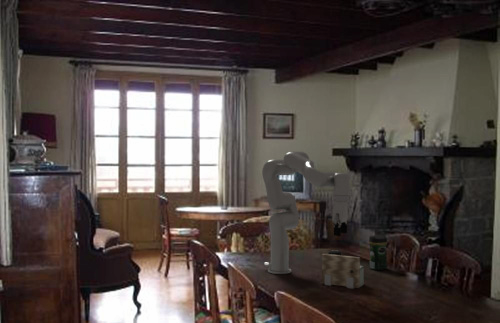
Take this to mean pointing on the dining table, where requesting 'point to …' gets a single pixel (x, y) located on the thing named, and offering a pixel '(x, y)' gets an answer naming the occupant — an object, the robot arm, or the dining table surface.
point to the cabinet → (349, 280)
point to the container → (334, 252)
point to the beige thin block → (341, 269)
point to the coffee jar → (378, 252)
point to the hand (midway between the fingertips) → (340, 234)
